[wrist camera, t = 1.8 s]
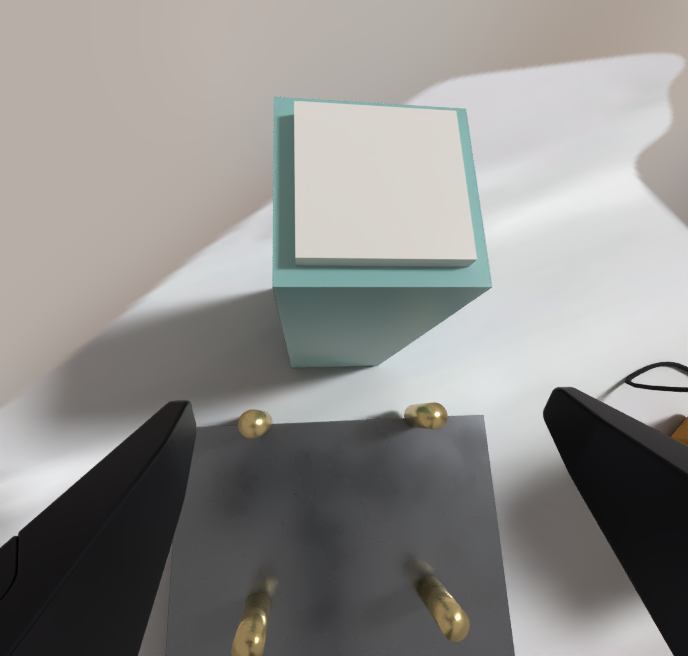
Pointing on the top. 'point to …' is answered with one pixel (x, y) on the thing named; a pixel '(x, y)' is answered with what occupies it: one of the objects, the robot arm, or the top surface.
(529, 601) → the top surface
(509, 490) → the top surface
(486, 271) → the plate
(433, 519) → the plate
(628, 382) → the multimeter
